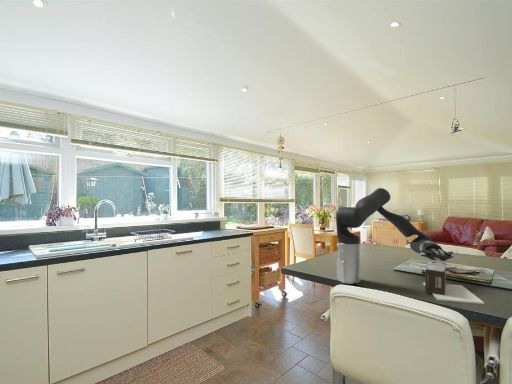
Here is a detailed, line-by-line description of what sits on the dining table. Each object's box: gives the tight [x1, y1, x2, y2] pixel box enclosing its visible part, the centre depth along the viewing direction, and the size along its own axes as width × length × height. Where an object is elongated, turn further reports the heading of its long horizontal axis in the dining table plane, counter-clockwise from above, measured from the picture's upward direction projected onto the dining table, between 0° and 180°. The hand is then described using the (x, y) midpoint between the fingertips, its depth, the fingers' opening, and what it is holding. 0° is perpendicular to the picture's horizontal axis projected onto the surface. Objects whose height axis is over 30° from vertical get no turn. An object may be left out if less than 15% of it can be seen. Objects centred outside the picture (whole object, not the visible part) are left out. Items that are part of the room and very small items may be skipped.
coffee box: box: [424, 260, 447, 295], centre depth 107 cm, size 9×6×16 cm
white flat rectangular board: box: [422, 282, 485, 305], centre depth 103 cm, size 18×14×1 cm
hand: (444, 258), depth 109 cm, fingers closed
